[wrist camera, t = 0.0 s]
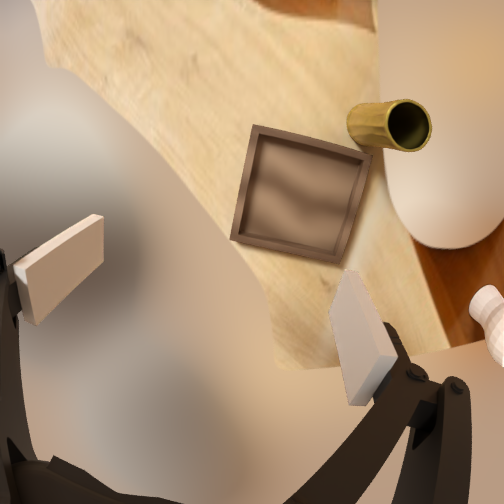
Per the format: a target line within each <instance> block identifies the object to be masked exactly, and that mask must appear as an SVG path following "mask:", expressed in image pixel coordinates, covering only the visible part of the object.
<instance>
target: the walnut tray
mask: <svg viewBox="0 0 504 504" xmlns="http://www.w3.org/2000/svg"><path fill="white" fill-rule="evenodd" d="M372 156H373V155H370V154H366V153H363V152H360V151H357V150H354V149H350V148H347V147H344V146H340V145H337V144H333V143H330V142H326V141H322V140H319V139H315V138H311V137H307V136H303V135H299V134H295V133H291V132H286V131H282V130H278V129H273V128H268V127H264V126H259V125H254V124H253V126H252V131H251V135H250V140H249V145H248V149H247V154H246V159H245V164H244V169H243V174H242V179H241V183H240V188H239V193H238V198H237V204H236V209H235V214H234V219H233V224H232V229H231V234H230V240H232V241H237V242H241V243H246V244H250V245H255V246H260V247H264V248H269V249H273V250H278V251H282V252H287V253H291V254H296V255H300V256H305V257H310V258H314V259H319V260H323V261H327V262H332V263H336V264H340V262H341V259H342V256H343V253H344V250H345V247H346V244H347V241H348V238H349V235H350V232H351V229H352V225H353V222H354V219H355V216H356V213H357V209H358V206H359V203H360V199H361V196H362V192H363V189H364V185H365V182H366V178H367V175H368V171H369V167H370V164H371V160H372Z"/></svg>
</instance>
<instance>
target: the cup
mask: <svg viewBox="0 0 504 504" xmlns="http://www.w3.org/2000/svg"><path fill="white" fill-rule="evenodd" d="M469 314H470V315H471V317H472V318H473V319H475V320H476V321H477V322H478V323H480V324H481V326H482V327H483V329H484V331H485V341H486V344H487V347H488V351H489V353H490V354H491V356H492V357H493V359H494V360H495V361H496V362H497V363H499V364H500V365H501V366H502V367H504V298H503V297H502V296H501V294H500V293H499V291H498V290H497V289H496V287H494V286H493V285H486V286H484V287H482V288H481V289H480V290H479V291H478V292H477V293H476V294H475V295H474V297H473V298H472V300H471V303H470V306H469Z"/></svg>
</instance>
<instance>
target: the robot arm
mask: <svg viewBox="0 0 504 504" xmlns="http://www.w3.org/2000/svg"><path fill="white" fill-rule="evenodd" d="M103 232H104V216H99V215H95V214H92V215H90V216H89V217H87V218H85V219H83V220H82V221H80V222H78V223H77V224H75V225H73V226H72V227H70V228H68V229H67V230H65V231H63V232H62V233H61V234H59V235H57V236H55V237H54V238H53V239H51V240H49V241H48V242H46V243H44V244H43V245H41V246H39V247H36V248H34V249H32V250H31V251H29V252H28V253H27V254H25V255H23V256H22V257H20V258H19V259H17V260H16V261H15V262H13V263H12V264H10V265H9V266H6V260H5V254H4V250H3V249H0V504H181V503H178V502H174V501H170V500H166V499H163V498H159V497H147V496H137V495H128V494H121V493H117V492H115V491H113V490H112V489H110V488H109V487H107V486H106V485H104V484H103V483H101V482H100V481H98V480H97V479H96V478H94V477H93V476H91V475H90V474H89V473H87V472H86V471H85V470H82V469H80V468H78V467H76V466H74V465H72V464H70V463H68V462H66V461H64V460H62V459H59V458H58V457H56V456H53V457H52V459H51V461H50V462H48V461H41V460H38V459H37V457H36V455H35V453H34V450H33V447H32V444H31V439H30V434H29V429H28V423H27V418H26V411H25V405H24V398H23V389H22V380H21V369H20V354H19V320H18V316H17V314H18V313H19V312H20V311H21V310H22V312H23V316H24V320H25V321H26V322H28V323H30V324H33V325H35V326H37V325H38V324H39V323H40V322H41V321H42V320H43V319H44V318H45V317H46V316H47V315H48V314H49V313H50V312H51V311H52V310H53V309H54V308H55V307H56V306H57V305H58V304H59V303H60V302H61V301H62V300H63V299H64V298H65V297H66V296H67V295H68V294H69V293H70V292H71V291H72V290H73V289H74V288H75V287H76V286H77V285H79V284H80V283H81V282H82V281H83V280H84V279H85V278H86V277H87V276H88V275H89V274H90V273H91V272H92V271H94V269H96V268H97V267H98V266H99V265H100V264H101V263H102V262H103V261H104V257H103ZM328 313H329V317H330V321H331V325H332V330H333V334H334V338H335V342H336V347H337V351H338V356H339V360H340V365H341V369H342V374H343V379H344V383H345V388H346V393H347V398H348V403H349V405H353V406H354V405H355V406H366V405H367V404H368V402H369V401H370V399H371V398H372V397H373V399H374V403H375V404H374V405H373V407H372V408H371V409H370V410H369V412H368V413H367V414H366V416H365V417H364V418H363V419H362V421H361V422H360V423H359V424H358V426H357V427H356V428H355V429H354V430H353V432H352V433H351V434H350V435H349V436H348V438H347V439H346V440H345V441H344V442H343V444H342V445H341V446H340V447H339V448H338V449H337V450H336V452H335V453H334V454H333V455H332V456H331V457H330V458H329V459H328V460H327V462H325V463H324V465H323V466H322V467H321V468H320V469H319V470H318V471H317V472H316V473H315V474H314V475H313V476H312V477H311V478H310V479H309V480H308V481H307V482H306V483H305V484H304V485H303V486H302V487H301V488H300V489H299V490H298V491H297V492H296V493H294V494H293V495H292V496H291V497H290V498H289V499H288V500H286V502H284V503H283V504H355V503H356V502H357V501H358V499H359V498H360V497H361V496H362V494H363V493H364V491H365V490H366V489H367V487H368V486H369V485H370V483H371V482H372V480H373V479H374V478H375V476H376V475H377V473H378V472H379V470H380V469H381V467H382V466H383V464H384V463H385V461H386V460H387V458H388V456H389V455H390V453H391V452H392V450H393V448H394V446H395V445H396V443H397V442H398V440H399V438H400V436H401V435H402V433H403V431H404V429H405V428H406V426H409V427H411V428H410V434H409V438H408V443H407V448H406V452H405V457H404V461H403V465H402V469H401V473H400V477H399V480H398V484H397V487H396V491H395V494H394V497H393V500H392V503H391V504H468V497H469V487H470V474H471V455H472V426H471V425H472V423H471V401H470V391H469V388H468V386H467V385H466V383H465V382H463V380H461V379H459V378H457V377H454V376H450V377H447V378H446V379H445V381H444V382H443V383H442V384H439V383H436V382H433V381H430V380H429V377H428V375H427V373H426V372H425V370H424V369H423V368H421V367H420V366H418V365H416V364H414V363H411V361H410V359H409V357H408V355H407V352H406V350H405V348H404V346H403V345H402V342H401V340H400V339H399V336H398V334H397V332H396V330H395V329H394V328H393V327H392V326H391V325H390V324H389V323H387V322H382V320H381V318H380V316H379V313H378V311H377V309H376V307H375V305H374V303H373V301H372V299H371V297H370V295H369V293H368V291H367V289H366V287H365V285H364V283H363V281H362V279H361V277H360V275H359V273H358V272H357V271H352V270H348V269H345V270H344V272H343V275H342V278H341V281H340V283H339V286H338V289H337V291H336V294H335V297H334V299H333V302H332V304H331V307H330V309H329V312H328Z"/></svg>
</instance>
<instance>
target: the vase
mask: <svg viewBox="0 0 504 504" xmlns="http://www.w3.org/2000/svg"><path fill="white" fill-rule="evenodd" d="M347 129H348V132H349V134H350V136H351V137H352V139H353V140H354V141H356V142H357V143H359V144H361V145H363V146H376V147H383V148H390V149H395V150H400V151H404V152H415V151H419V150H420V149H422V148H423V147H424V146H425V145H426V144H427V142H428V141H429V139H430V136H431V132H432V124H431V120H430V116H429V114H428V113H427V111H426V109H425V108H424V107H423V106H422V105H420V104H419V103H417V102H415V101H413V100H410V99H403V100H395V101H391V102H384V103H363V104H359V105H357V106H355V107H354V108H353V109H352V110H351V111H350V112H349V114H348V117H347Z"/></svg>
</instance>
